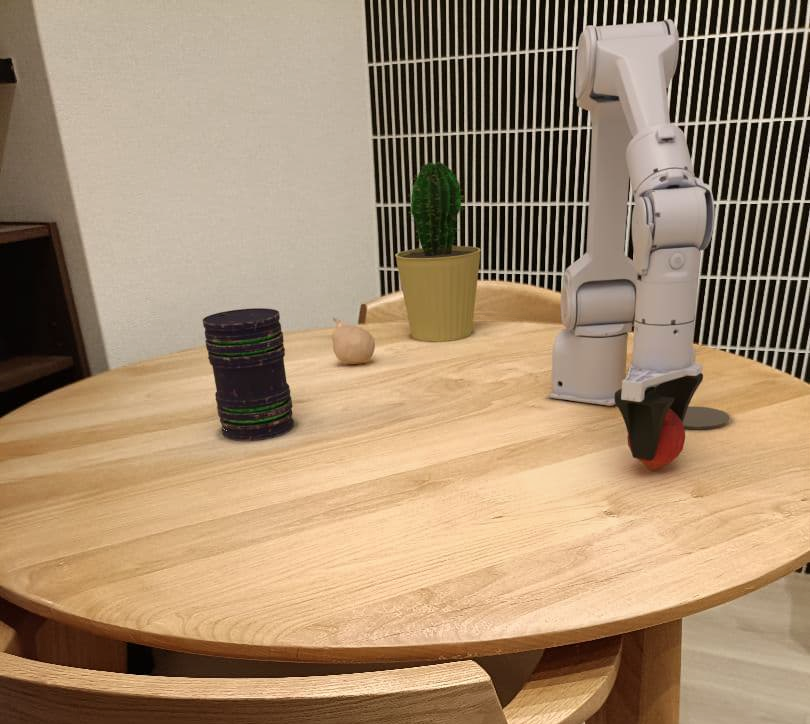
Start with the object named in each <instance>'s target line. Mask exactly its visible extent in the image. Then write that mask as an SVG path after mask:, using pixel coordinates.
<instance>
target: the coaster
mask: <svg viewBox="0 0 810 724" xmlns="http://www.w3.org/2000/svg"><path fill="white" fill-rule="evenodd" d="M730 421H731V416H730V415H729V414H728V413H727V412H725V411H723V410H721V409H717V408H713V407H707V406H706V407H705V406H695V405H694V406H690V405H689V406H688V408H687V411H686V414H685V417H684V420H683V425H684V429H685V430H693V431H695V430H696V431H705V430H715V429H719V428H723V427H725V426H727V425H729V423H730Z"/></svg>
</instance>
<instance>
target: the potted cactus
mask: <svg viewBox="0 0 810 724" xmlns="http://www.w3.org/2000/svg"><path fill="white" fill-rule="evenodd" d="M450 165H451V162H449V163H448V165H446V164H445V163H443V162H440V161H437V162H435V163H434V162H433V159H432V161H431V162H427V163H426V161H424V162H423V165H422V164H421V169H420V168H419V170H420V171H419V172H418V174H412V175H413V176H414V177H415V178H414V177H411V179H413V180H415V182H414V183H413V184H411V187H412V191H411V192H412V193H408V192H407V195H406V196H408V197H410V201H411V202H408V201H407V204H408V206H409V207H410V211H407V212H406V213H407V214H408V216H407V217H411V218H412V220H411V222H415V225H413V228H415V227H416V230H415V231H414V232H413V233H417V239H415V242H416V241H418V242H419V244H418V245H416V247H417V246H418V247H417V248H413V249H407V250H404V251H399V252H397V253H395V255H394V256H395V258H396V259H395V260H396V265H397V271H398V275H399V280H400V285H401V291H402V296H403V300H404V306H405V309H406V314H407V319H408V325H409V330H410V334H411V337H412V338H413V339H414V340H417V341H423V342H448V341H455V340H461V339H464V338H467V337H469V336H471V334H472V332H473V326H474V325H473V324H474V316H475V315H474V313H475V306H476V298H477V297H476V296H477V288H478V279H479V270H480V269H479V268H480V262H481V261H480V260H481V251H482V249H481V248H480V247H476V246H469V245H467V246H466V245H454V240H455V235H456V231H461V229H458V228H456V222H459V220H458V219H459V218H457V216H458V217H459V215H461V211H463V210H465V209H466V208H465V207H464V206H462V203H463V202H464V201H465V199H466V196H464V195H461V191H463V189H461V185H460V184H461V183H462V182H461V180H462V179H460V180H458V178H457V177H456V174H455V173H454V171H455V170H456V168H455V169H454V168H453V169H454V170H453V169H450V168H449V167H450ZM464 198H465V199H464ZM411 218H410V219H411ZM410 219H409V220H410Z"/></svg>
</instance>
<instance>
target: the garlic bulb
mask: <svg viewBox="0 0 810 724" xmlns="http://www.w3.org/2000/svg"><path fill="white" fill-rule="evenodd" d="M332 319H333V321H334V323H335V324H336V329H334V330H333V332H332V335H331V340H332V349H333V350H332V351H333V352H334V355H335V356H336V358H337V360H338V361H340V363H342V364H344V365H359V364H365V363H367V362H369V361H370V360H371V358H372V357H373V356H374V353H375V349H376V342H375V338H374V336H373V335H372V334H371V333H370V332H369V331H368V330H366V329H365V328H362V327H359V326H357V325H354V324H343V323H342V322H341V320H340V319H338V318H336V317H334V316H333V317H332Z"/></svg>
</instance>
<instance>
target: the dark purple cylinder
mask: <svg viewBox="0 0 810 724" xmlns="http://www.w3.org/2000/svg"><path fill="white" fill-rule="evenodd" d="M280 319H281V316H280V311H279V310H277V309H275V308H265V307H264V308H260V307H259V308H258V307H257V308H255V307H254V308H241V309H239V308H238V309H232V310H225V311H221V312H217V313H213V314H209V315H208V316H205V317H204V318H202V325H203V328H204V337H205V348H206V351H207V355H208V357H207V359H208V362H209V364H210V365H211V366H212V373H213V378H214V383H215V390H216V392H215V395H214V396H215V403H216V405H217V406H216V410H217V416H218V417H219V422H220V424H221V434H222V436H223V437H224V438H226V439H227V440H231V441H237V442H238V441H240V442H253V441H254V442H255V441H263V440H269V439H272V438H276V437H279V436H282V435H284V434H288V433H289V432H290V431H292V430H293V428H295V421H294V419H293V400H292V399H293V398H292V397H291V389H290V385H289V384H288V382H287V374H286V368H285V359H284V357H285V356H286V353H285V351H286V348H285V344H284V342H285V341H284V340H285V339H284V333H283V331H282V323H281V322H280ZM223 428H224V429H225V430H224V429H223ZM226 430H227V431H226Z"/></svg>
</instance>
